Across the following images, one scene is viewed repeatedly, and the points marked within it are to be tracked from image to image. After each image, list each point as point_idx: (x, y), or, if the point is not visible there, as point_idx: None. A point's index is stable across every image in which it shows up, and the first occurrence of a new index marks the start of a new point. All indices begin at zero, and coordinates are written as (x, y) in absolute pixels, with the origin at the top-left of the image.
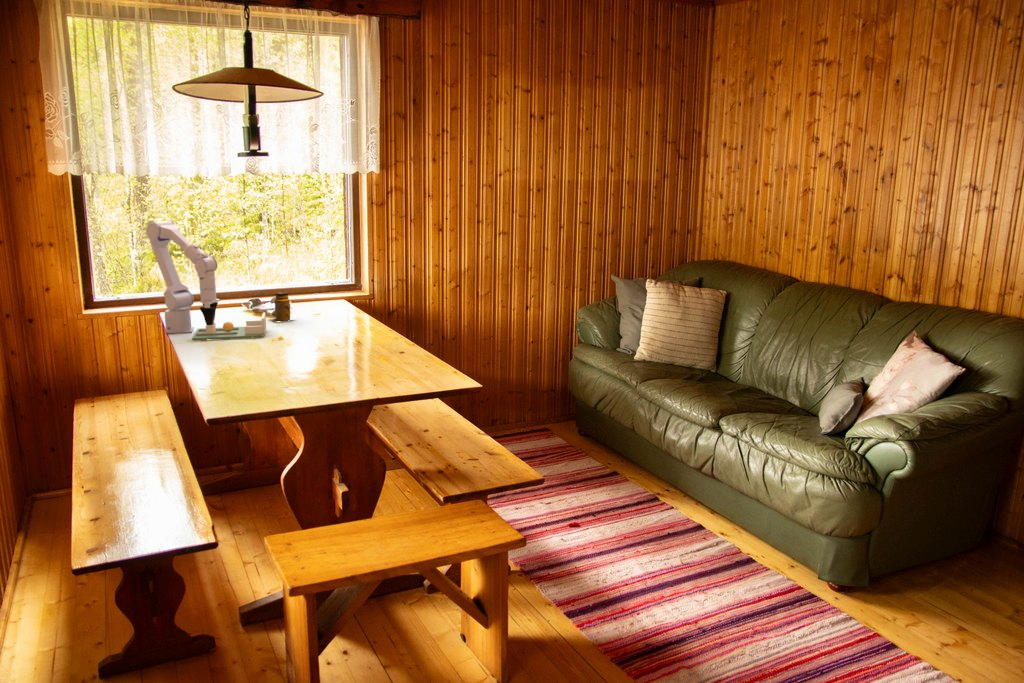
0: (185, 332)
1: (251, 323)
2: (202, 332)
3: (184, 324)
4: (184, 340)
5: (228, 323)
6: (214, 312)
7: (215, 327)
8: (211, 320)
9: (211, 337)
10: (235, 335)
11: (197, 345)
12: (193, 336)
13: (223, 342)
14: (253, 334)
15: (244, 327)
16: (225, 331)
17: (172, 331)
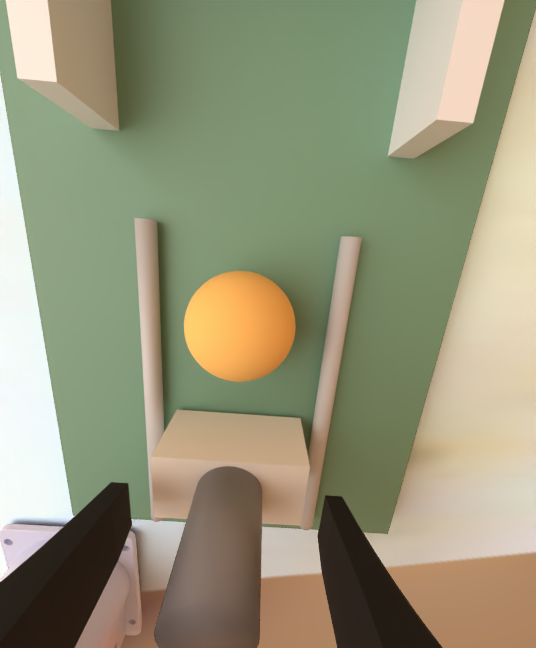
0: (136, 555)
1: (74, 16)
2: None
3: (95, 624)
4: None
5: (273, 335)
6: (43, 595)
7: (179, 427)
8: (363, 552)
9: (415, 432)
10: (424, 255)
11: (522, 489)
12: None
13: (525, 346)
14: None
15: (61, 154)
16: None
17: (123, 614)
